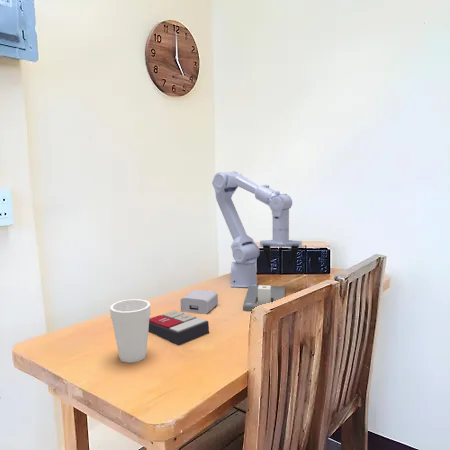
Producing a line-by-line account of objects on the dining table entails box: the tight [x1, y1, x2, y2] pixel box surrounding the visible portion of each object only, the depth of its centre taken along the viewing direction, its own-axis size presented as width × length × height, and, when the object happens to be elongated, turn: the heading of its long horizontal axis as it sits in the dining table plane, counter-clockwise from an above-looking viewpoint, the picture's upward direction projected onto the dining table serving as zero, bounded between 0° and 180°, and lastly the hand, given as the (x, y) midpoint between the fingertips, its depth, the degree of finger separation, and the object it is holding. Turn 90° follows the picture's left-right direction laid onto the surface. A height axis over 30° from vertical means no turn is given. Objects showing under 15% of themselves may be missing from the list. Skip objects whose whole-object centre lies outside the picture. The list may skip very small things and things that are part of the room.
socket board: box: [242, 285, 286, 312], centre depth 141 cm, size 13×22×2 cm, turn 172°
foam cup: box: [109, 298, 151, 364], centre depth 101 cm, size 10×9×13 cm
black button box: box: [148, 310, 210, 346], centre depth 116 cm, size 11×4×15 cm
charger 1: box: [180, 289, 219, 315], centre depth 137 cm, size 5×9×15 cm
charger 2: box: [257, 284, 272, 304], centre depth 136 cm, size 4×4×6 cm
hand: (280, 266), depth 148 cm, fingers open, 7 cm apart
